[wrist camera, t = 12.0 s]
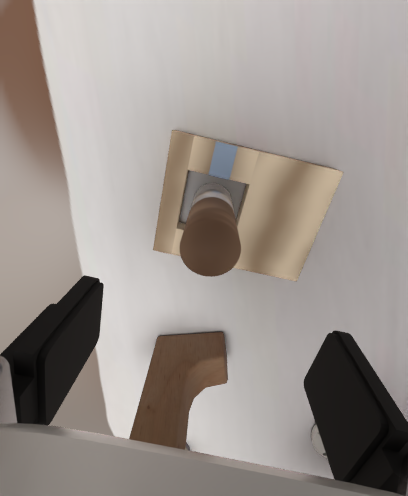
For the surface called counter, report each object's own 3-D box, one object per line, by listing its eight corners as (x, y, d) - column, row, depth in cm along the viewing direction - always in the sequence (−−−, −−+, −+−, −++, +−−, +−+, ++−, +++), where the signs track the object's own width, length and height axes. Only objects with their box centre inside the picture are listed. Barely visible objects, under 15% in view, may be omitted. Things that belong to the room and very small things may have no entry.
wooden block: (223, 330, 35) (230, 506, 19) (226, 355, 37) (235, 536, 21) (157, 335, 36) (107, 507, 20) (163, 359, 38) (122, 536, 22)
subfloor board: (334, 168, 27) (344, 172, 25) (291, 272, 31) (297, 282, 29) (175, 130, 26) (171, 130, 24) (156, 242, 31) (152, 250, 29)
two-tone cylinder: (236, 187, 28) (248, 228, 17) (226, 223, 29) (232, 281, 18) (198, 178, 27) (185, 213, 17) (190, 215, 29) (174, 269, 18)
